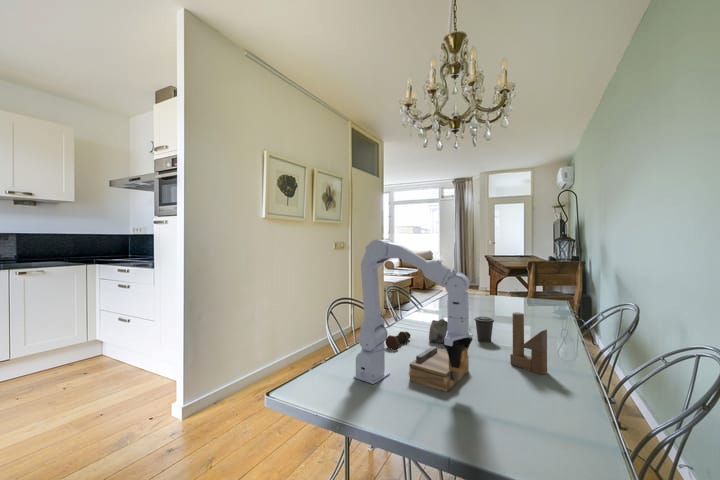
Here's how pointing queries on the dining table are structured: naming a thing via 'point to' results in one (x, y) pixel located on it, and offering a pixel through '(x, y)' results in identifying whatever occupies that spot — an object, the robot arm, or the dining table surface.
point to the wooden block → (528, 347)
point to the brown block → (461, 362)
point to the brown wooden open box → (434, 379)
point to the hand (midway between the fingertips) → (458, 364)
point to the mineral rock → (438, 331)
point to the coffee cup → (484, 328)
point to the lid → (434, 362)
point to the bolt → (397, 339)
